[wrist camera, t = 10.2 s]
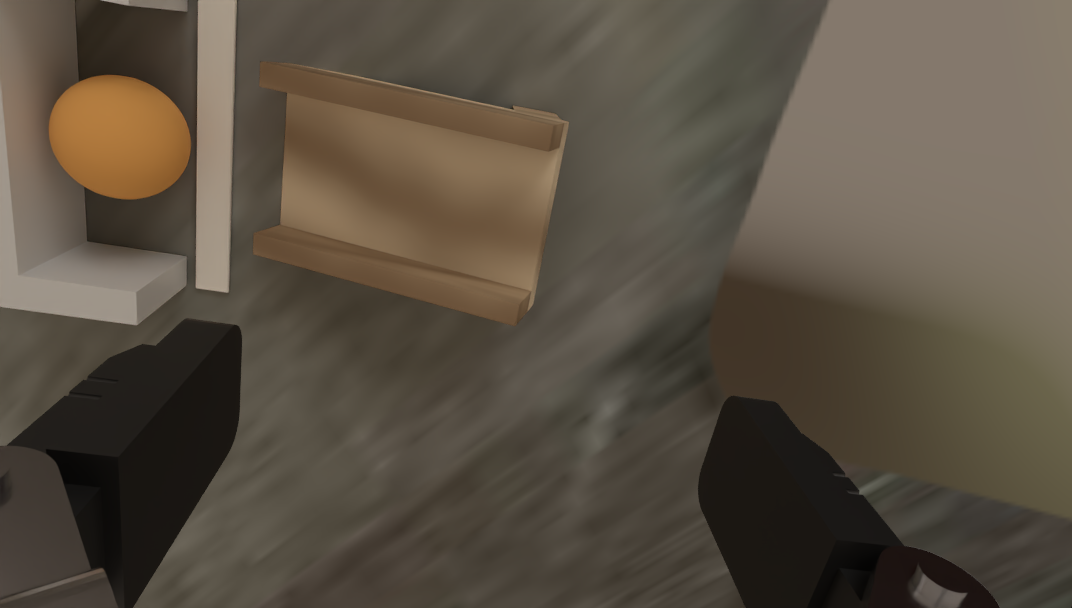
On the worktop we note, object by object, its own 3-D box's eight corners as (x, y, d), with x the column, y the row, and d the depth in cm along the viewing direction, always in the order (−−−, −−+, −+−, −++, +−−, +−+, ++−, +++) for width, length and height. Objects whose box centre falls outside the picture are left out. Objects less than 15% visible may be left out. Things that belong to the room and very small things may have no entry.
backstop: (32, -58, 27) (-62, -79, 22) (187, -27, 28) (127, -42, 23) (55, 266, 32) (-19, 304, 27) (186, 285, 33) (137, 325, 28)
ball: (102, 66, 29) (10, 62, 25) (214, 86, 29) (143, 86, 24) (107, 179, 31) (21, 196, 26) (213, 198, 31) (146, 218, 26)
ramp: (280, 59, 30) (225, 64, 24) (559, 112, 32) (577, 130, 25) (271, 237, 33) (220, 283, 27) (527, 276, 35) (537, 329, 28)
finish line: (200, -25, 28) (198, -25, 28) (237, -17, 28) (235, -18, 28) (197, 286, 33) (195, 288, 33) (229, 291, 33) (227, 292, 33)
